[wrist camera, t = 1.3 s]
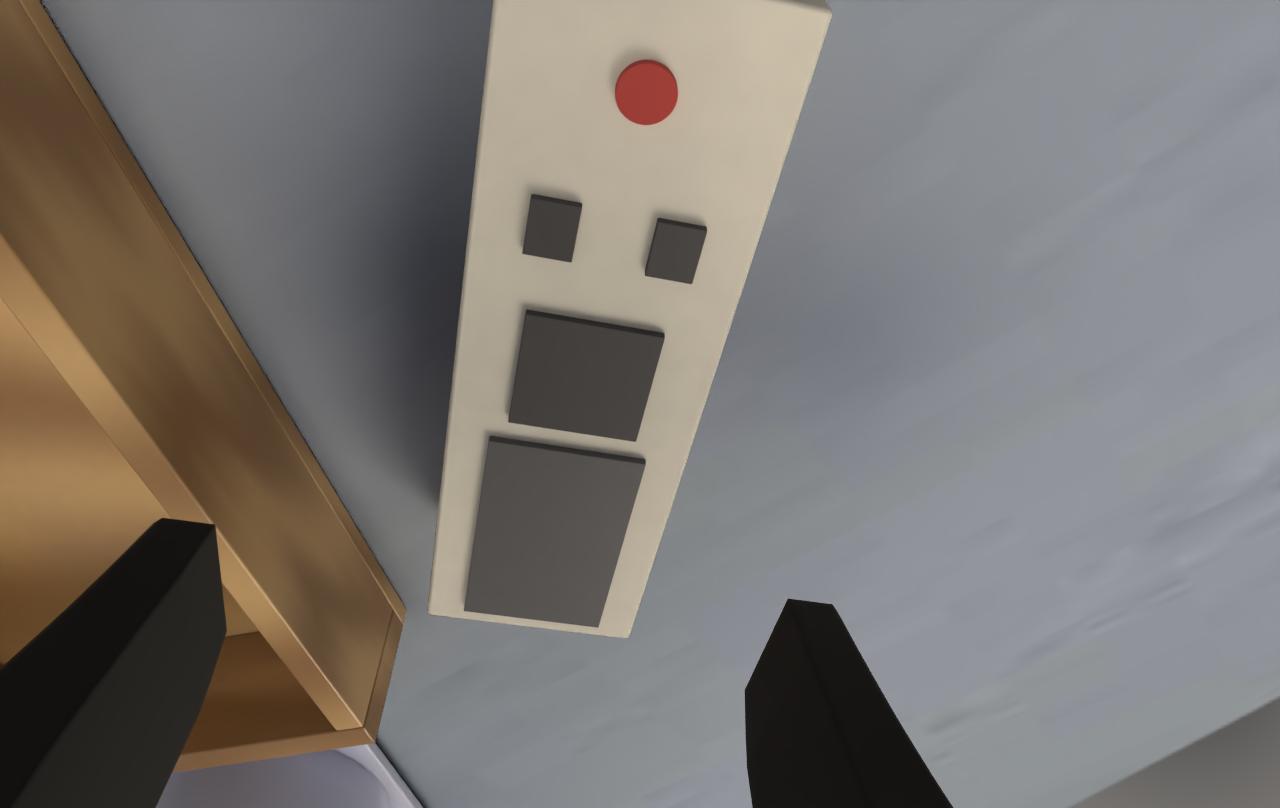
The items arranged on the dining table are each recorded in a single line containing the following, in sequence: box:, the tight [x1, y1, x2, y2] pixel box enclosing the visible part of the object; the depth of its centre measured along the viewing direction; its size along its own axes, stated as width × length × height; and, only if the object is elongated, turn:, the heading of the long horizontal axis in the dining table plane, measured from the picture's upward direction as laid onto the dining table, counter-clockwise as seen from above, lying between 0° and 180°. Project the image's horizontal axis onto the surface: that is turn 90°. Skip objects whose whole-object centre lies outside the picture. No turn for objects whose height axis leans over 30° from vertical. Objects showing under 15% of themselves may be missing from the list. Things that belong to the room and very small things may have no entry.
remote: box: [427, 0, 832, 638], centre depth 17 cm, size 14×5×3 cm, turn 168°
